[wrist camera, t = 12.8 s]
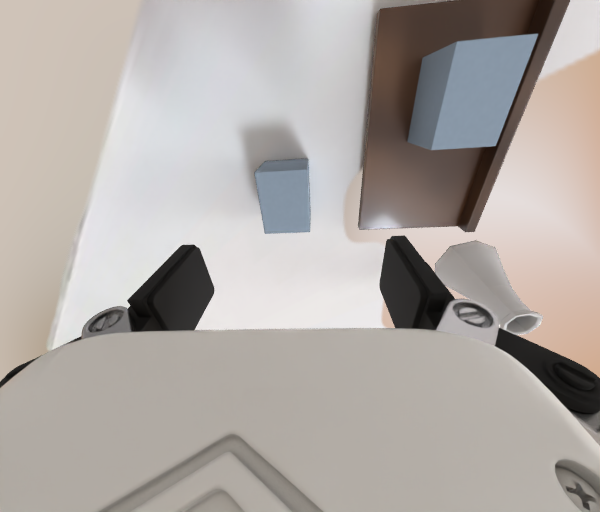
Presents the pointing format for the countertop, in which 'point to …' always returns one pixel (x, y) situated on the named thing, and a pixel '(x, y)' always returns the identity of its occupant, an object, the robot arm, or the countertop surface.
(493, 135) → the pad
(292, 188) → the pad
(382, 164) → the backing board
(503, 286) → the flask
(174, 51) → the countertop surface
